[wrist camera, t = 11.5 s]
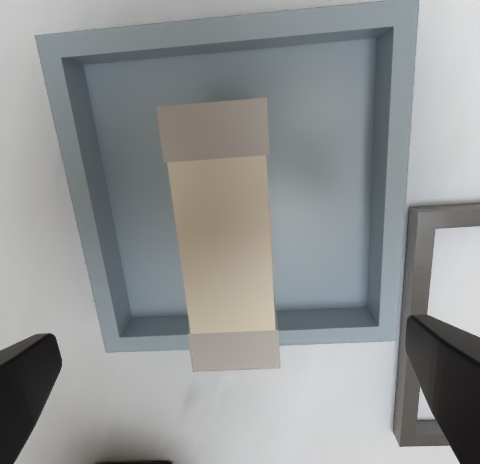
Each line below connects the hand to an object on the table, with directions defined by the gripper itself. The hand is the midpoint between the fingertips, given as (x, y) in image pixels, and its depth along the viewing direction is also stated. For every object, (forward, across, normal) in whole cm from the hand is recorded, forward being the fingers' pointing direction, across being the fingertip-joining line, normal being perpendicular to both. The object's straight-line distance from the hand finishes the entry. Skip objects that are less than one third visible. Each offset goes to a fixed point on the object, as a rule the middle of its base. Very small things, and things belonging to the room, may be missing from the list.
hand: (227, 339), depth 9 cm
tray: (+13, 0, -1) cm, 13 cm away
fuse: (+12, 0, -1) cm, 12 cm away
